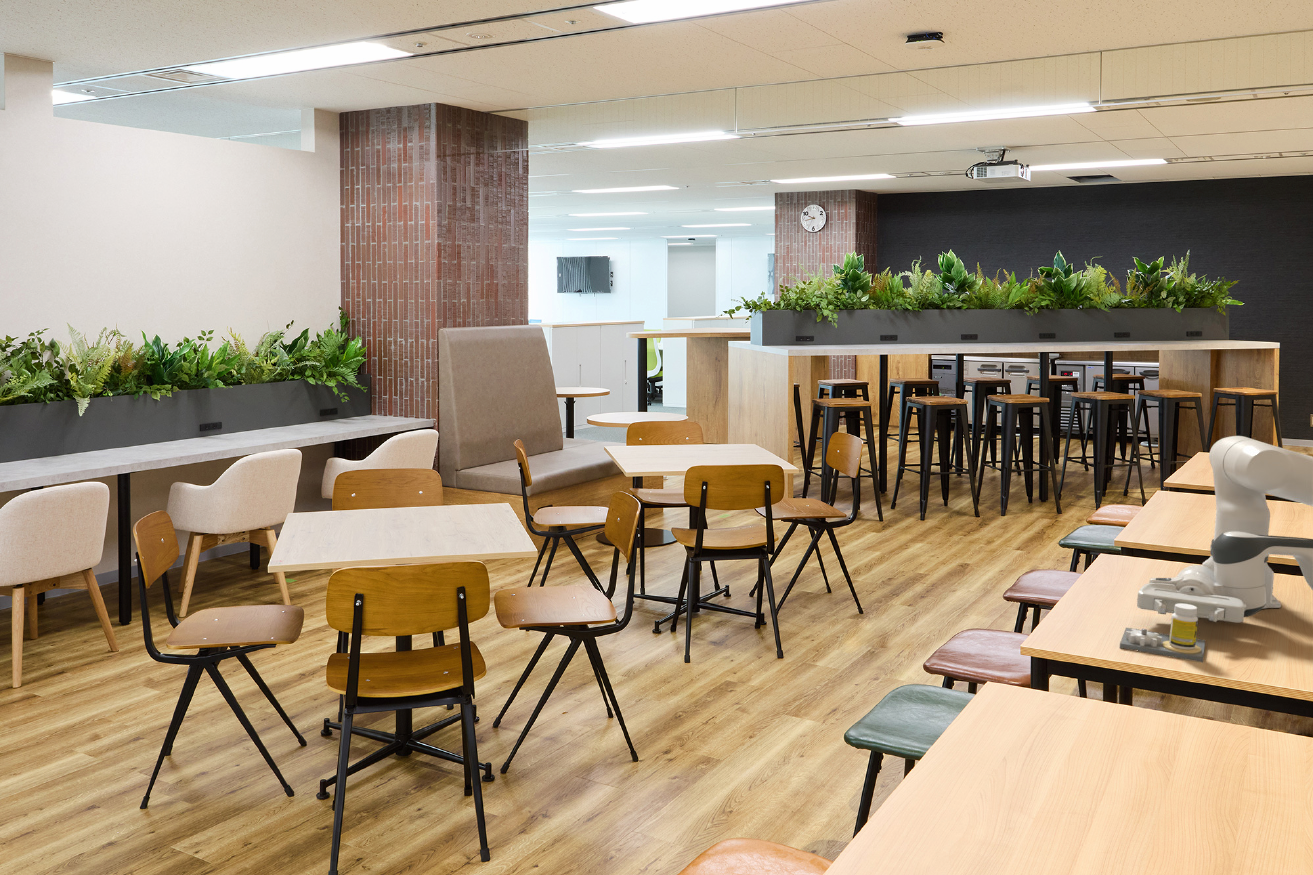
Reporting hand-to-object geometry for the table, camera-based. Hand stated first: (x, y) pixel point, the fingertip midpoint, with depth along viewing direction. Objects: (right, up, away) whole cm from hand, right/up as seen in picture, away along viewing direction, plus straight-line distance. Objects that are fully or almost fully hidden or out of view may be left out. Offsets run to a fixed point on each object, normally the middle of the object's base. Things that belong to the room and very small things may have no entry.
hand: (1187, 614), depth 211 cm
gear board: (-6, -6, -2) cm, 9 cm away
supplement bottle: (-4, -6, -5) cm, 9 cm away
